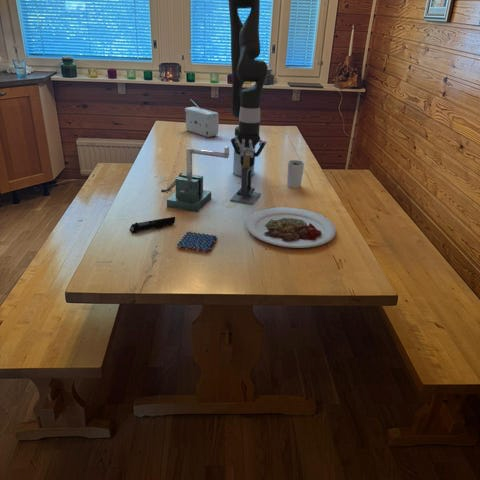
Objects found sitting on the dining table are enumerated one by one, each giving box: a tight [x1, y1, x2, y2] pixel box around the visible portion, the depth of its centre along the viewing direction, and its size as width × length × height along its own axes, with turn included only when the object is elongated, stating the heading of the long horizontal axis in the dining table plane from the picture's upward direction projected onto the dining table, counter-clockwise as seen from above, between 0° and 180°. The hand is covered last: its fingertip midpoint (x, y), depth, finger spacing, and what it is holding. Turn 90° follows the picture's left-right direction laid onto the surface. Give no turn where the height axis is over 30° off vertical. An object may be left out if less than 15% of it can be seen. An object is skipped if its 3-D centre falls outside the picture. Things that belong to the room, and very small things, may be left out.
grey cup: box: [286, 159, 305, 189], centre depth 188 cm, size 7×7×10 cm
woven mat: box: [176, 231, 219, 254], centre depth 141 cm, size 10×11×2 cm
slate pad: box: [229, 189, 261, 205], centre depth 176 cm, size 11×9×1 cm
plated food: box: [245, 207, 337, 249], centre depth 152 cm, size 30×30×3 cm
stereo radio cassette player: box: [184, 100, 220, 138], centre depth 254 cm, size 21×8×20 cm, turn 45°
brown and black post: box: [236, 153, 256, 197], centre depth 171 cm, size 7×5×15 cm
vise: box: [166, 146, 230, 213], centre depth 162 cm, size 16×21×23 cm
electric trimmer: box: [129, 216, 176, 234], centre depth 149 cm, size 4×15×3 cm, turn 119°
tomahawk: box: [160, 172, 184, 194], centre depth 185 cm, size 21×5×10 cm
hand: (247, 165), depth 170 cm, fingers closed on brown and black post, 2 cm apart
